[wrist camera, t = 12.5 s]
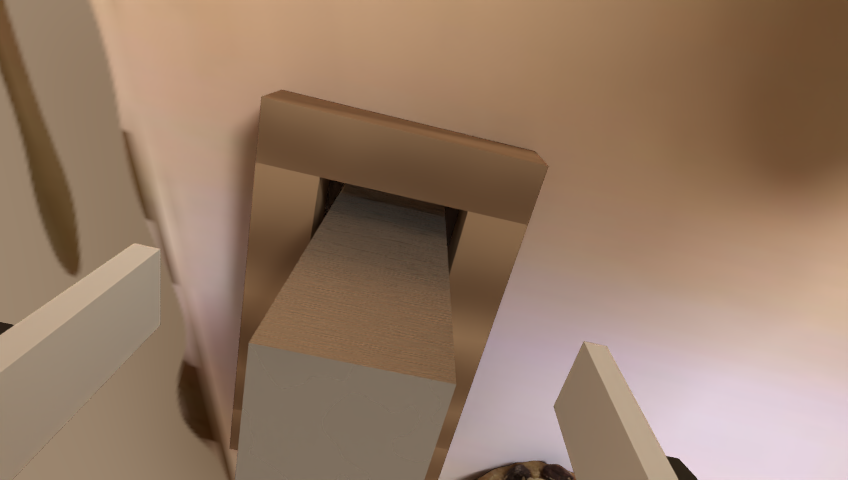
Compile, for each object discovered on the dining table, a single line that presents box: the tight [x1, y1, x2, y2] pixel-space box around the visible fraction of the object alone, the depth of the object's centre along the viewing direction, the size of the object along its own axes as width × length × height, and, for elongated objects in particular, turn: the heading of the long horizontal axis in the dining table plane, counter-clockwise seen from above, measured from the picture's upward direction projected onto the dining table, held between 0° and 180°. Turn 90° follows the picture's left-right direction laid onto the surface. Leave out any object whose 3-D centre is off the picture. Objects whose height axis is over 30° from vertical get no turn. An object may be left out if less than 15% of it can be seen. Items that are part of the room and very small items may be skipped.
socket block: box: [230, 90, 548, 480], centre depth 22 cm, size 18×11×2 cm, turn 167°
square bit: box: [235, 183, 456, 480], centre depth 16 cm, size 4×4×12 cm
